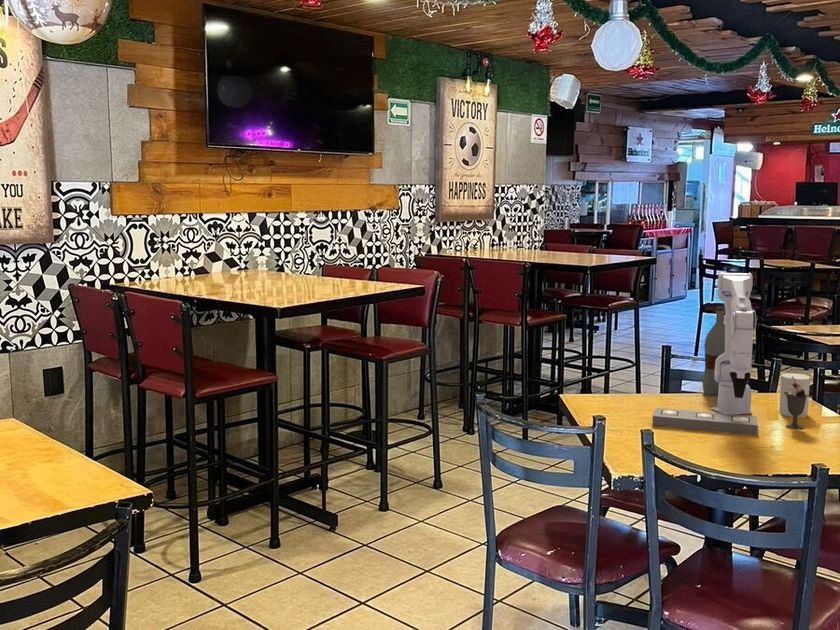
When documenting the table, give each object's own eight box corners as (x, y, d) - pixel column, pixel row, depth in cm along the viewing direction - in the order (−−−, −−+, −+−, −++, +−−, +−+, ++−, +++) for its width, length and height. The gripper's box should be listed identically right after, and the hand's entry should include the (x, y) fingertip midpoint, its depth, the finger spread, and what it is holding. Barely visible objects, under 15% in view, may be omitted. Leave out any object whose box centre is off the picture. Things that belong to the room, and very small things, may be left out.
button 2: (732, 425, 247) (732, 416, 246) (748, 427, 245) (748, 417, 245) (732, 429, 243) (732, 419, 242) (748, 431, 241) (748, 421, 241)
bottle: (735, 396, 283) (740, 308, 278) (710, 397, 281) (715, 309, 277) (721, 389, 292) (725, 305, 288) (696, 390, 291) (701, 305, 286)
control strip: (655, 417, 257) (655, 407, 257) (756, 426, 247) (756, 416, 247) (652, 425, 248) (652, 415, 247) (757, 435, 238) (757, 425, 237)
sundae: (784, 422, 251) (788, 374, 248) (808, 426, 247) (812, 377, 245) (779, 428, 245) (783, 378, 243) (804, 431, 241) (807, 381, 239)
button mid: (696, 422, 250) (697, 413, 250) (712, 424, 249) (712, 414, 248) (696, 426, 246) (696, 416, 246) (711, 428, 245) (712, 418, 244)
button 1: (662, 419, 254) (662, 409, 253) (677, 420, 252) (677, 411, 252) (661, 423, 250) (661, 413, 249) (676, 424, 248) (676, 414, 248)
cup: (794, 409, 266) (796, 372, 264) (813, 415, 258) (816, 378, 257) (773, 411, 264) (775, 374, 262) (792, 418, 256) (794, 380, 254)
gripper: (726, 346, 250) (724, 390, 252) (726, 355, 236) (724, 402, 238) (752, 347, 247) (749, 392, 249) (753, 357, 234) (750, 404, 236)
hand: (738, 397), depth 244 cm, fingers closed
